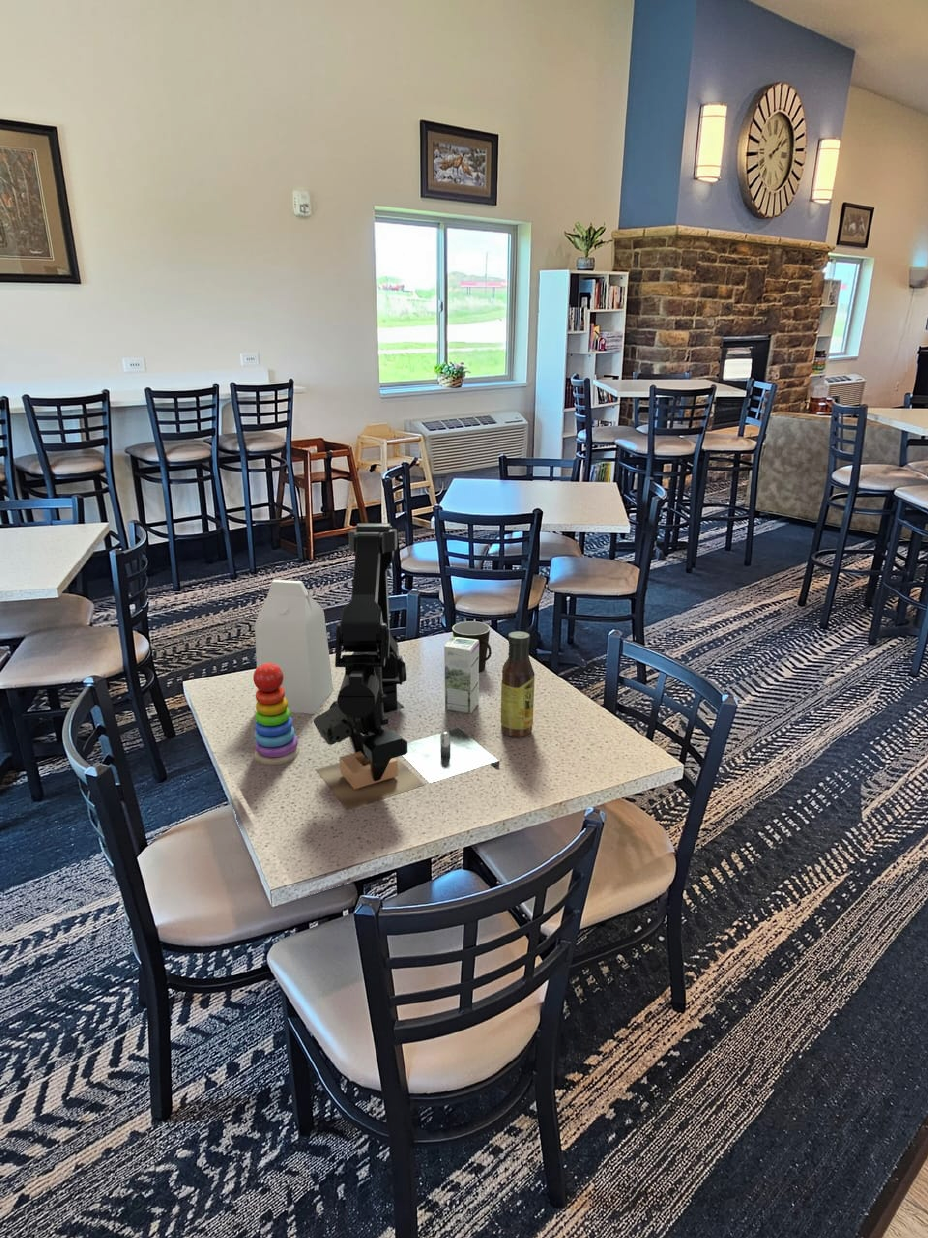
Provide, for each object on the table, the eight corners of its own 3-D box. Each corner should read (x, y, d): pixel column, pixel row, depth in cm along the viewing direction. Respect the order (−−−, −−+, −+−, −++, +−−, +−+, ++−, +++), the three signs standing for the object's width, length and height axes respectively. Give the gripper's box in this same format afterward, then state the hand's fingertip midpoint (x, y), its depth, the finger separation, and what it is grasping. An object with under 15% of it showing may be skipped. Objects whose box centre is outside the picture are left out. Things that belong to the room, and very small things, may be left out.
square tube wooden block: (340, 772, 129) (339, 757, 128) (382, 760, 133) (382, 745, 132) (354, 789, 125) (353, 773, 123) (397, 775, 128) (397, 760, 127)
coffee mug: (450, 661, 177) (450, 621, 174) (487, 660, 178) (487, 620, 175) (455, 682, 166) (455, 641, 163) (494, 681, 167) (495, 639, 164)
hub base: (393, 751, 139) (392, 725, 137) (459, 732, 146) (459, 707, 144) (430, 788, 128) (429, 760, 126) (499, 765, 134) (499, 739, 133)
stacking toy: (251, 751, 139) (241, 658, 132) (295, 743, 142) (286, 651, 135) (258, 773, 132) (247, 676, 126) (304, 763, 135) (295, 668, 128)
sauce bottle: (530, 740, 143) (533, 643, 136) (497, 737, 144) (499, 640, 137) (534, 724, 149) (537, 630, 142) (503, 721, 150) (505, 627, 143)
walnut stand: (316, 774, 132) (314, 752, 130) (388, 753, 138) (387, 731, 137) (347, 815, 120) (345, 791, 119) (424, 790, 127) (424, 767, 126)
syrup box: (479, 702, 158) (480, 638, 152) (470, 715, 152) (470, 649, 147) (453, 698, 159) (453, 634, 154) (444, 711, 154) (443, 645, 149)
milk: (333, 689, 164) (325, 574, 154) (314, 714, 153) (304, 592, 144) (281, 685, 165) (270, 571, 156) (258, 709, 155) (245, 588, 146)
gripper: (297, 678, 127) (304, 759, 132) (340, 725, 112) (346, 814, 117) (359, 664, 132) (363, 743, 138) (407, 707, 117) (410, 793, 123)
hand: (369, 771), depth 129 cm, fingers closed on square tube wooden block, 6 cm apart
